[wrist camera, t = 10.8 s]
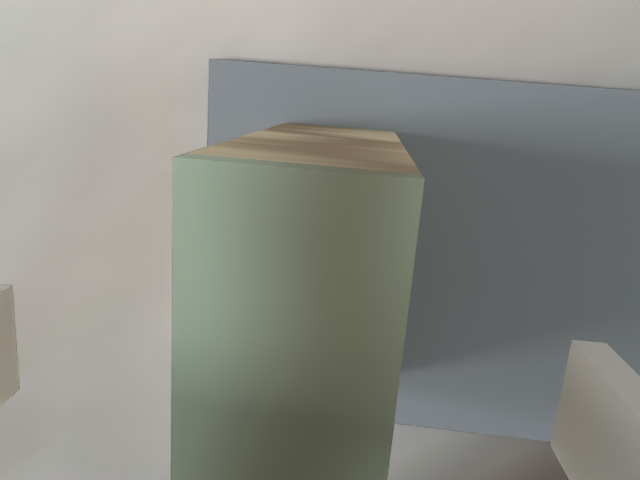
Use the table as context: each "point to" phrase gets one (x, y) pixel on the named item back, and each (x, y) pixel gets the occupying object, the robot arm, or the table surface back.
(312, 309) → the slab
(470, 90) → the mat
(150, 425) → the table surface
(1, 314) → the robot arm
